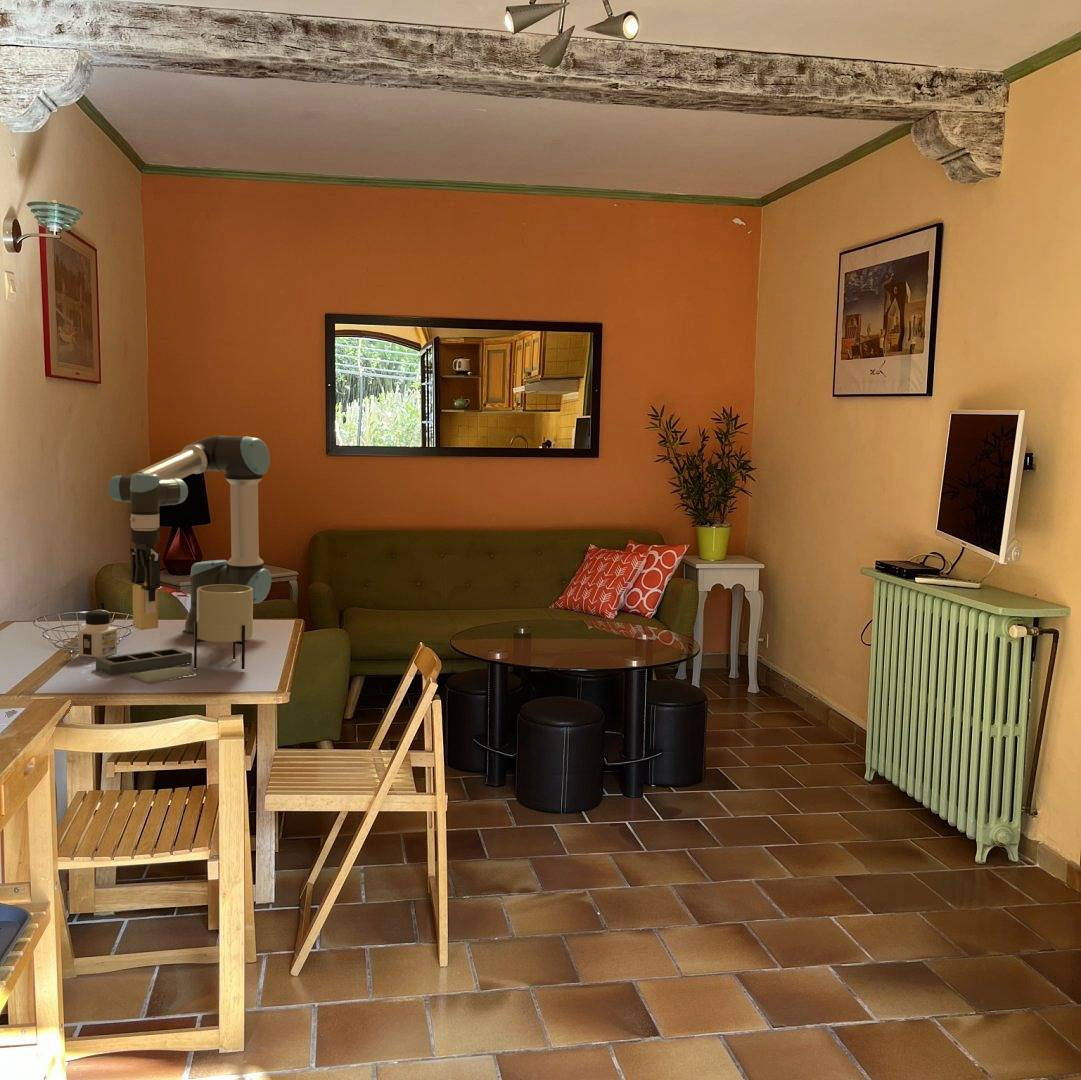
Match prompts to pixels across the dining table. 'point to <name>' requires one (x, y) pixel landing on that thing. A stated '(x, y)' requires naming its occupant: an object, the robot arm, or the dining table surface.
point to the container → (97, 635)
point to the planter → (224, 616)
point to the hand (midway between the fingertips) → (145, 610)
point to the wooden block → (143, 609)
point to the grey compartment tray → (143, 661)
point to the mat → (162, 674)
